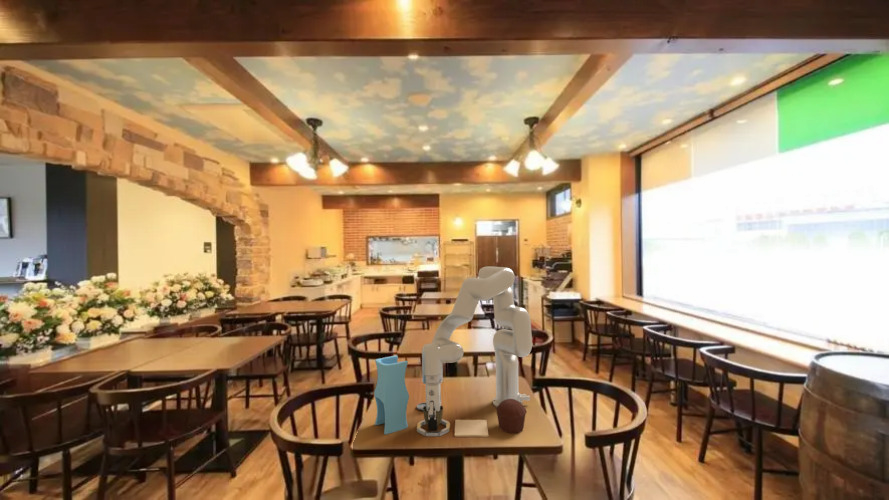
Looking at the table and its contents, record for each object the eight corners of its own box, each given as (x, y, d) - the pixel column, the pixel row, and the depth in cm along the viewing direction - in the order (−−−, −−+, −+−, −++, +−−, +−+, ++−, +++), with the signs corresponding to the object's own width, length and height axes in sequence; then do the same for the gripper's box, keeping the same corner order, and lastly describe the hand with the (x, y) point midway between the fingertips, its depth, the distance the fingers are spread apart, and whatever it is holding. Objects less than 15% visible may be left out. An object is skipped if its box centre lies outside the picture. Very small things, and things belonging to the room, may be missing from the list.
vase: (409, 427, 147) (408, 361, 147) (385, 434, 142) (383, 366, 141) (398, 417, 155) (396, 355, 155) (374, 424, 150) (373, 359, 150)
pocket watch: (414, 406, 166) (414, 383, 166) (433, 403, 169) (432, 380, 169) (421, 414, 159) (420, 389, 158) (440, 410, 162) (439, 386, 162)
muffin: (529, 435, 139) (529, 407, 139) (498, 435, 140) (497, 407, 139) (523, 420, 151) (523, 394, 151) (494, 420, 151) (494, 395, 151)
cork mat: (486, 421, 151) (486, 419, 151) (488, 436, 139) (488, 435, 139) (455, 421, 151) (455, 419, 151) (454, 436, 139) (454, 434, 139)
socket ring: (450, 421, 152) (450, 418, 151) (449, 436, 140) (449, 433, 140) (419, 421, 152) (419, 418, 152) (415, 436, 140) (415, 432, 140)
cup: (447, 426, 147) (446, 405, 147) (436, 435, 141) (435, 413, 141) (430, 422, 151) (430, 401, 151) (419, 430, 145) (419, 408, 145)
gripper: (441, 386, 137) (442, 436, 137) (443, 370, 154) (444, 415, 154) (419, 386, 137) (420, 436, 137) (424, 370, 154) (425, 415, 155)
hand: (433, 424), depth 146 cm, fingers closed on cup, 6 cm apart
